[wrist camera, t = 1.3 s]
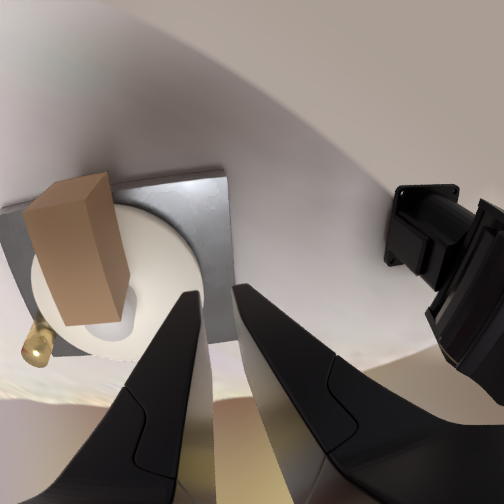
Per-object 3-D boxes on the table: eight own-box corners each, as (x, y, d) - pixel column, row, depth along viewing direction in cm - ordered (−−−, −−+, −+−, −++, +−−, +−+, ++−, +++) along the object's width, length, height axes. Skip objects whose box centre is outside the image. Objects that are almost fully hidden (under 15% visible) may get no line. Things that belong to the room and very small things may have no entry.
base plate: (223, 169, 18) (226, 176, 17) (236, 326, 24) (239, 339, 23) (2, 207, 16) (-9, 216, 15) (57, 343, 22) (53, 356, 21)
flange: (186, 154, 16) (187, 184, 12) (212, 340, 22) (220, 399, 18) (7, 189, 14) (-40, 227, 10) (71, 353, 21) (57, 407, 16)
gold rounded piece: (53, 310, 19) (39, 346, 16) (64, 332, 20) (52, 367, 17) (31, 312, 19) (16, 346, 16) (42, 333, 20) (29, 367, 17)
